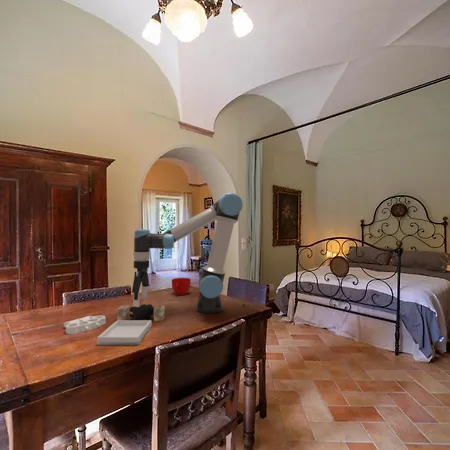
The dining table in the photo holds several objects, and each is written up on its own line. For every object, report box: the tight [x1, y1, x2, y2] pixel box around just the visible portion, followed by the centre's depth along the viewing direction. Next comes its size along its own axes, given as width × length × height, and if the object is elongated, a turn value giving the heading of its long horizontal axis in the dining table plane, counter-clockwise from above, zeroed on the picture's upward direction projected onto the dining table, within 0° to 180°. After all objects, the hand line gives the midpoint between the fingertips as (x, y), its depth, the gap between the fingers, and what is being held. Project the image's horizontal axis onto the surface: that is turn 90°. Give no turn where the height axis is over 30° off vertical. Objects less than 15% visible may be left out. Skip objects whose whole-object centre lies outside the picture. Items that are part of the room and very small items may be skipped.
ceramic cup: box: [171, 277, 192, 296], centre depth 193 cm, size 13×17×10 cm
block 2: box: [153, 305, 166, 322], centre depth 142 cm, size 4×6×6 cm, turn 0°
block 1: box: [116, 305, 131, 321], centre depth 142 cm, size 4×6×6 cm, turn 0°
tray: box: [96, 319, 153, 346], centre depth 121 cm, size 16×20×3 cm
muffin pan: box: [63, 315, 107, 335], centre depth 131 cm, size 3×18×15 cm
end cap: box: [129, 303, 155, 320], centre depth 142 cm, size 10×7×7 cm
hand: (140, 302), depth 142 cm, fingers open, 13 cm apart
